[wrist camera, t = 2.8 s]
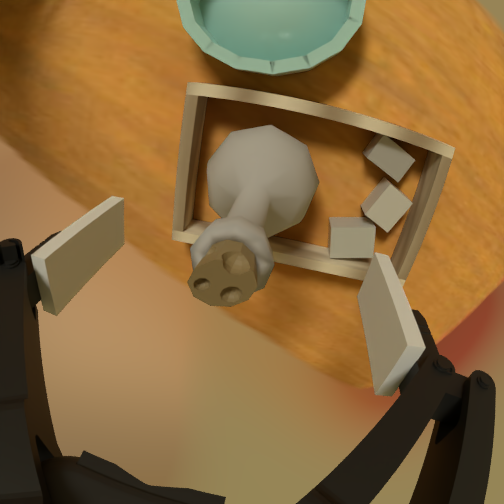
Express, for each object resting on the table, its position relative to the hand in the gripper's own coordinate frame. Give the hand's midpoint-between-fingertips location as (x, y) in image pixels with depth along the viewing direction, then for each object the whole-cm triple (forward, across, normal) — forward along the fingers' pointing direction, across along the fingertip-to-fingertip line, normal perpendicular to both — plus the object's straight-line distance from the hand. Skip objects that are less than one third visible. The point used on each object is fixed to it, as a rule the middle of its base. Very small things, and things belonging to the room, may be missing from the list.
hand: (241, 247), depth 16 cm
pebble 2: (+14, +11, 0) cm, 18 cm away
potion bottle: (+14, 0, 0) cm, 14 cm away
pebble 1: (+14, +10, +4) cm, 18 cm away
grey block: (+14, +8, -4) cm, 17 cm away
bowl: (+14, -2, +16) cm, 21 cm away
